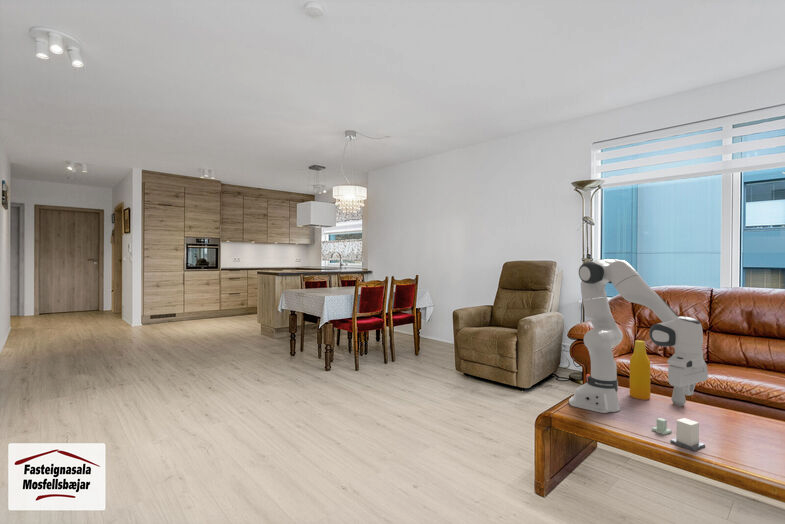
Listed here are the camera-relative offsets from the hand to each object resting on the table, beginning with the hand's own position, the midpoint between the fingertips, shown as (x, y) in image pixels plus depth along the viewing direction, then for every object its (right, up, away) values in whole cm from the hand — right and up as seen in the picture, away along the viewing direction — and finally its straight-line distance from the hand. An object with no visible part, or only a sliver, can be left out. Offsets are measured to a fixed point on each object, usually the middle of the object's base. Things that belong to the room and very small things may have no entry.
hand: (688, 394), depth 155 cm
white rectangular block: (0, -18, 0) cm, 18 cm away
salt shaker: (+25, -19, +41) cm, 52 cm away
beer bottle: (+13, -19, +52) cm, 57 cm away
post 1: (-3, -19, +12) cm, 23 cm away
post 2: (0, -19, 0) cm, 19 cm away
